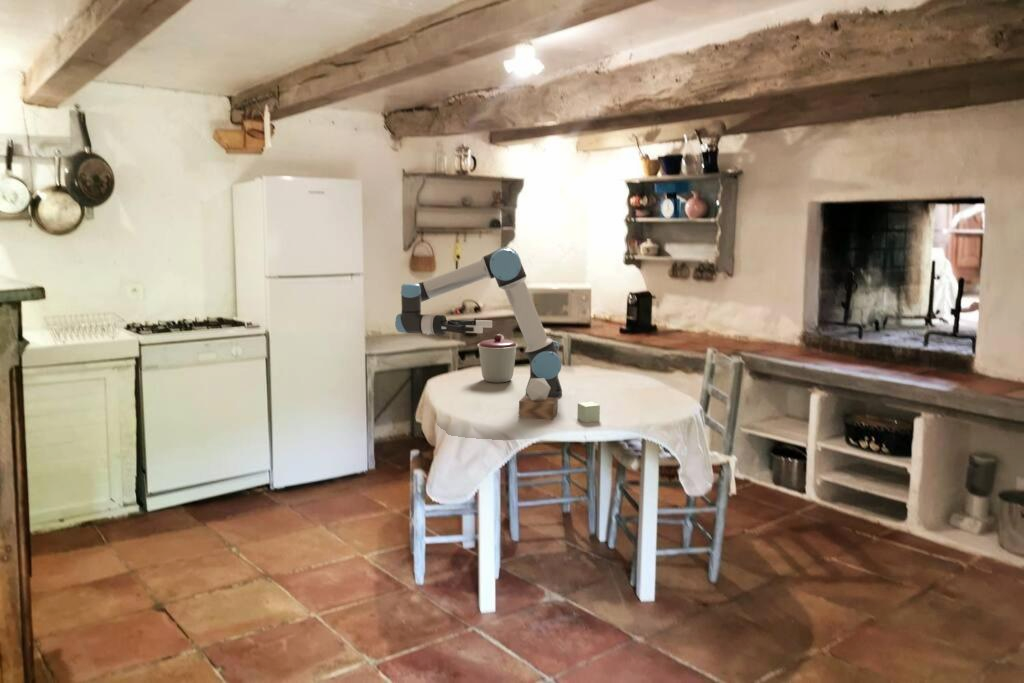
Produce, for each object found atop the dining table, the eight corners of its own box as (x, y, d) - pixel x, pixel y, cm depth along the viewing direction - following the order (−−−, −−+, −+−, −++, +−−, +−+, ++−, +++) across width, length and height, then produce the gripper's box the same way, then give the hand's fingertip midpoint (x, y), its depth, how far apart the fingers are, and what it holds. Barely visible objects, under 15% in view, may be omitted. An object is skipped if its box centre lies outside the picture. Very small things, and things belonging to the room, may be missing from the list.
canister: (514, 385, 347) (514, 338, 344) (473, 384, 350) (473, 337, 346) (520, 377, 365) (520, 331, 361) (481, 375, 368) (481, 330, 364)
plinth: (519, 416, 297) (519, 401, 296) (524, 410, 306) (524, 395, 305) (553, 419, 294) (553, 403, 293) (557, 413, 303) (557, 397, 301)
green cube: (591, 417, 298) (591, 401, 297) (599, 421, 292) (599, 405, 291) (577, 418, 295) (577, 402, 294) (585, 422, 290) (585, 406, 289)
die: (548, 398, 303) (533, 376, 304) (558, 391, 296) (543, 369, 296) (532, 409, 299) (517, 387, 300) (542, 402, 291) (527, 380, 292)
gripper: (445, 329, 322) (495, 331, 317) (424, 339, 298) (478, 341, 293) (444, 310, 320) (495, 312, 316) (423, 319, 297) (478, 321, 292)
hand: (487, 326), depth 304 cm, fingers open, 13 cm apart
